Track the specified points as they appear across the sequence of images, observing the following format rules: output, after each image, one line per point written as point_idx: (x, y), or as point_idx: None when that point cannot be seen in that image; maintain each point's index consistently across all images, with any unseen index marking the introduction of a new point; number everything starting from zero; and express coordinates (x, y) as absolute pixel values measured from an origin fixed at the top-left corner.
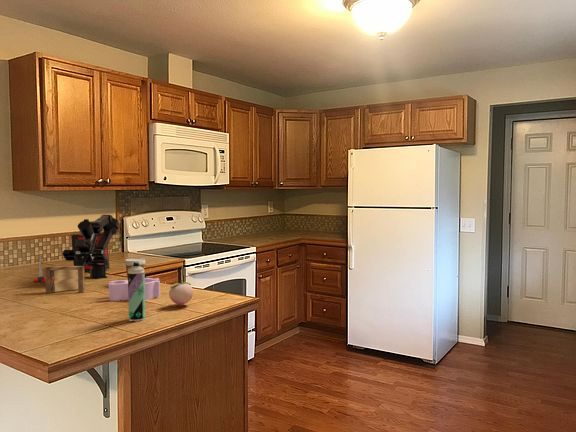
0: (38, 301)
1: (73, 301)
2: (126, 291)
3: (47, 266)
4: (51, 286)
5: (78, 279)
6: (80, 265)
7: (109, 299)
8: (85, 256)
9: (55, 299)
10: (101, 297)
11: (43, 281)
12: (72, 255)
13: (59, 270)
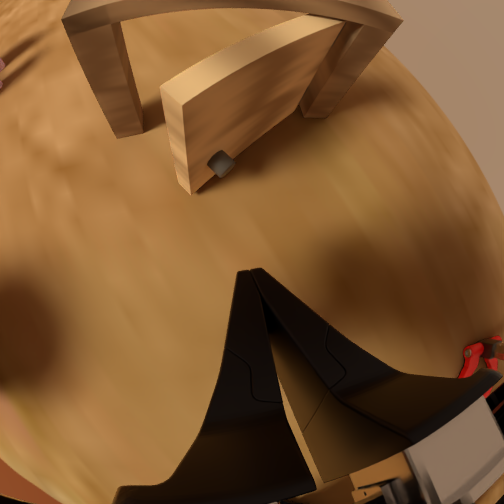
0: None
1: None
2: None
3: (394, 13)
4: (312, 89)
5: (126, 58)
6: (266, 306)
7: (2, 62)
8: (234, 453)
9: (193, 18)
10: (25, 79)
11: (473, 344)
12: (500, 410)
13: (302, 21)
